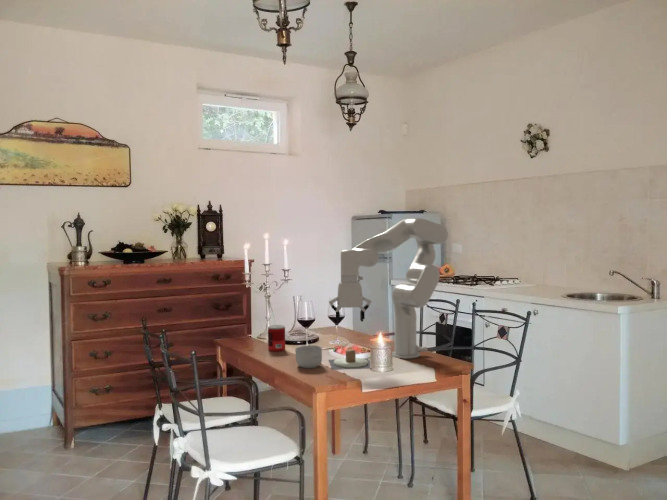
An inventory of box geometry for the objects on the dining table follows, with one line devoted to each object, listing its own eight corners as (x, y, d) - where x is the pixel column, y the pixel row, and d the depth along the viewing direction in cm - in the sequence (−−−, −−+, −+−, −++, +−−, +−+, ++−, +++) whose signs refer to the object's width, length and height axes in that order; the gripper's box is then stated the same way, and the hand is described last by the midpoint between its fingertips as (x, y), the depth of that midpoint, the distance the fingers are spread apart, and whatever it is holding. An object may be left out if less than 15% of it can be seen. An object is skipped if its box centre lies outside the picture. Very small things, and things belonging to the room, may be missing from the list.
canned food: (288, 349, 275) (288, 325, 275) (279, 352, 268) (278, 328, 267) (274, 347, 279) (274, 324, 278) (264, 350, 272) (264, 327, 271)
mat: (367, 359, 253) (367, 358, 253) (374, 369, 236) (374, 368, 236) (328, 360, 251) (328, 359, 251) (332, 370, 234) (332, 369, 234)
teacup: (318, 370, 234) (318, 350, 234) (292, 369, 236) (291, 349, 236) (326, 362, 248) (325, 343, 247) (300, 361, 250) (300, 342, 249)
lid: (364, 359, 251) (364, 346, 251) (370, 367, 237) (370, 353, 237) (332, 360, 250) (331, 347, 250) (335, 368, 236) (335, 354, 236)
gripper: (369, 278, 247) (369, 319, 247) (328, 279, 245) (328, 320, 246) (372, 280, 239) (372, 322, 240) (329, 280, 237) (330, 323, 238)
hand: (350, 321), depth 243 cm, fingers open, 9 cm apart
